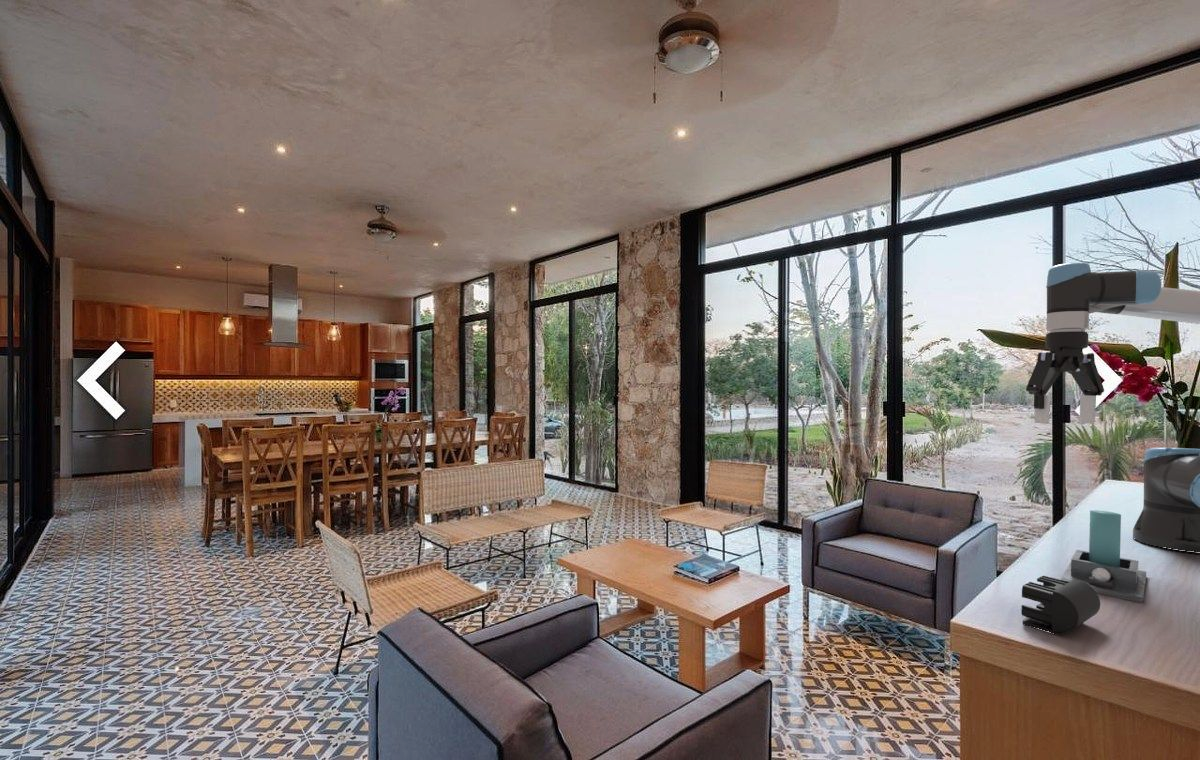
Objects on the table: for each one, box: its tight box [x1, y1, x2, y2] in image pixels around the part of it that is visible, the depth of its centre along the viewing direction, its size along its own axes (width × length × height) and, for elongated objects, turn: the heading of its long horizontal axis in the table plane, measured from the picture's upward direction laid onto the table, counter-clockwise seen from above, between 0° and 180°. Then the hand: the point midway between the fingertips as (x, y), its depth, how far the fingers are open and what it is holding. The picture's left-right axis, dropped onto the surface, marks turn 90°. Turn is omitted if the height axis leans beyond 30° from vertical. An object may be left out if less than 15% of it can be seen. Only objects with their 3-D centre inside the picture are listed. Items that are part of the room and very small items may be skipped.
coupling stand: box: [1059, 549, 1147, 604], centre depth 106 cm, size 19×11×4 cm, turn 134°
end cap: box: [1020, 575, 1101, 636], centre depth 86 cm, size 10×7×7 cm
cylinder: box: [1088, 509, 1122, 567], centre depth 106 cm, size 4×4×12 cm
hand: (1064, 423), depth 127 cm, fingers open, 13 cm apart
